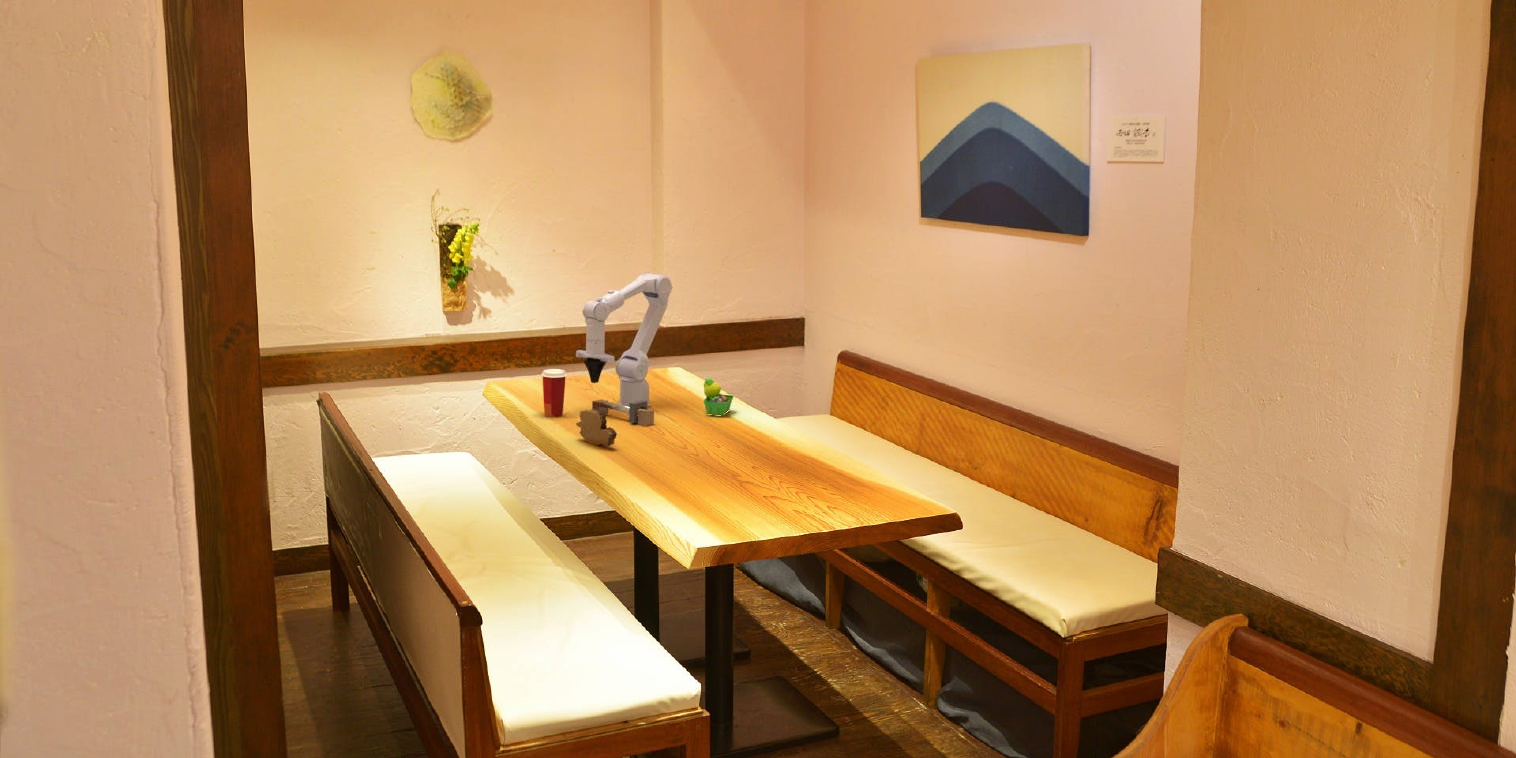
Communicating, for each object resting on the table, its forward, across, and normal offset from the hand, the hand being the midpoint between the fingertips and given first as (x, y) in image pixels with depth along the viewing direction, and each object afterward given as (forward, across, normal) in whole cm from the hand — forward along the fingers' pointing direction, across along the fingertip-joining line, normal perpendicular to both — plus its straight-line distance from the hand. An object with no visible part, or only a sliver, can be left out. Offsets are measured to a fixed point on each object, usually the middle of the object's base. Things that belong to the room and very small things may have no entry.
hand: (594, 382), depth 405 cm
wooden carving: (+10, +28, -28) cm, 41 cm away
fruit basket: (+10, +27, +28) cm, 40 cm away
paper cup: (+10, -7, -11) cm, 16 cm away
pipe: (+10, +12, 0) cm, 16 cm away
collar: (+10, +18, 0) cm, 21 cm away
